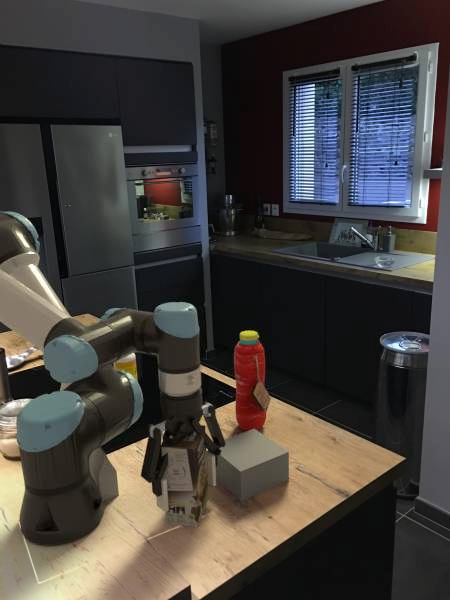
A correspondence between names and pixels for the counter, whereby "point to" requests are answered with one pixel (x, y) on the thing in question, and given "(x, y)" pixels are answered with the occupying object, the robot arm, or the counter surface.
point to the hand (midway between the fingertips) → (187, 495)
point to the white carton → (103, 474)
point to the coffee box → (186, 480)
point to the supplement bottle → (127, 365)
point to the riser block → (251, 464)
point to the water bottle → (250, 382)
